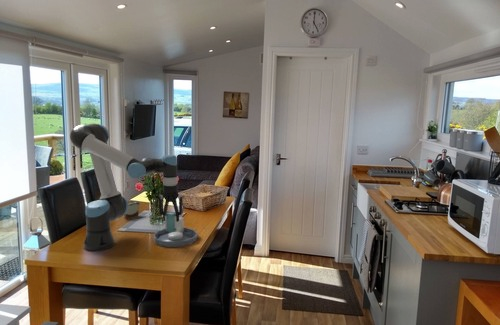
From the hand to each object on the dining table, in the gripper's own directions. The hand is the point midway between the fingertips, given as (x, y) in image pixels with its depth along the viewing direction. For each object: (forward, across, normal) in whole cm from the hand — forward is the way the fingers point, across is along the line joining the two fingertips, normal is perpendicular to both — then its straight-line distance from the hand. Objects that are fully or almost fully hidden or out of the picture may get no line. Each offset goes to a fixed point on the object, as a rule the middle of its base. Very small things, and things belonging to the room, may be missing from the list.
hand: (171, 226), depth 203 cm
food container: (+9, +42, -42) cm, 61 cm away
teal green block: (+2, 0, 0) cm, 2 cm away
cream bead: (+9, 0, -15) cm, 17 cm away
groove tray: (+10, 0, -8) cm, 12 cm away
